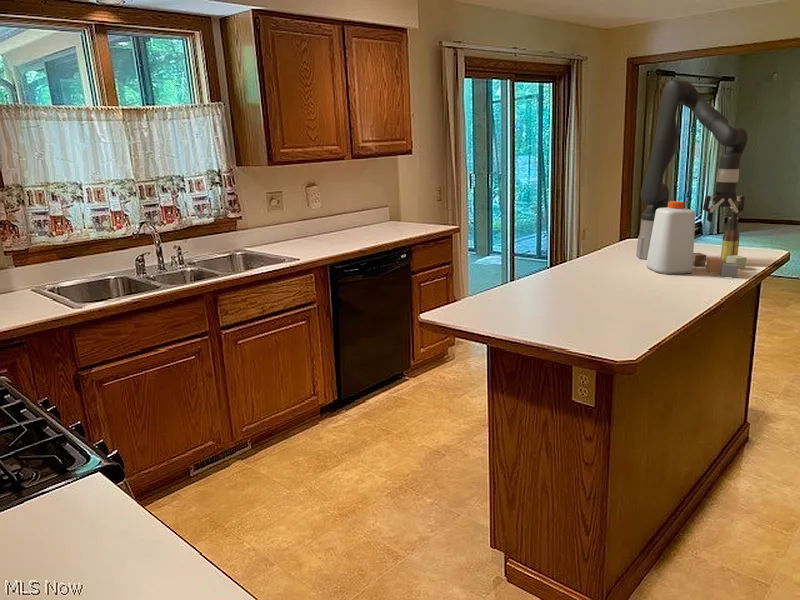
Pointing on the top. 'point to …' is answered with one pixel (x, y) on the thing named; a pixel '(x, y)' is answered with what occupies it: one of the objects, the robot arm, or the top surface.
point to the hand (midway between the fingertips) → (721, 222)
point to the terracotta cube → (714, 264)
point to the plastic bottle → (672, 240)
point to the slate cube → (729, 270)
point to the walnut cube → (699, 259)
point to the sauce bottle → (730, 240)
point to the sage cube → (737, 261)
